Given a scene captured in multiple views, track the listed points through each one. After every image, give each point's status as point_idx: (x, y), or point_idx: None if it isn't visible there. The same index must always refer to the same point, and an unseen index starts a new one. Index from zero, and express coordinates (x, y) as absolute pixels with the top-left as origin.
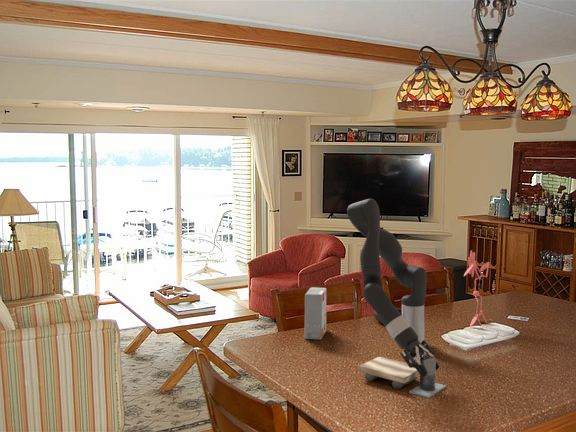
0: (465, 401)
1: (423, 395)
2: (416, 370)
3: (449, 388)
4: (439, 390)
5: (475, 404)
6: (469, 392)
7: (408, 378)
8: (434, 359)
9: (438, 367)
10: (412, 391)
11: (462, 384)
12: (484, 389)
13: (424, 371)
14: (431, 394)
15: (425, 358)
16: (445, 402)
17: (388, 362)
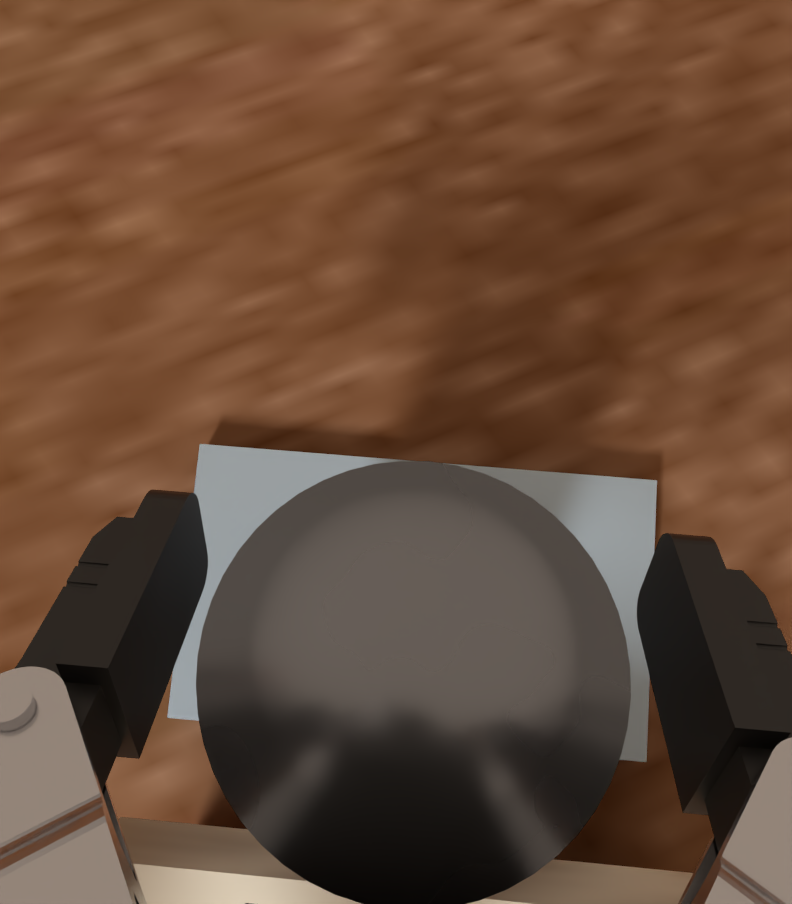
0: (477, 116)
1: (653, 552)
2: (302, 897)
3: (214, 396)
4: (369, 458)
5: (490, 9)
6: (203, 169)
7: (608, 884)
8: (330, 511)
9: (194, 500)
10: (640, 720)
11: (6, 317)
12: (25, 69)
13: (724, 585)
14: (579, 475)
15: (403, 761)
16: (639, 278)
17: None
